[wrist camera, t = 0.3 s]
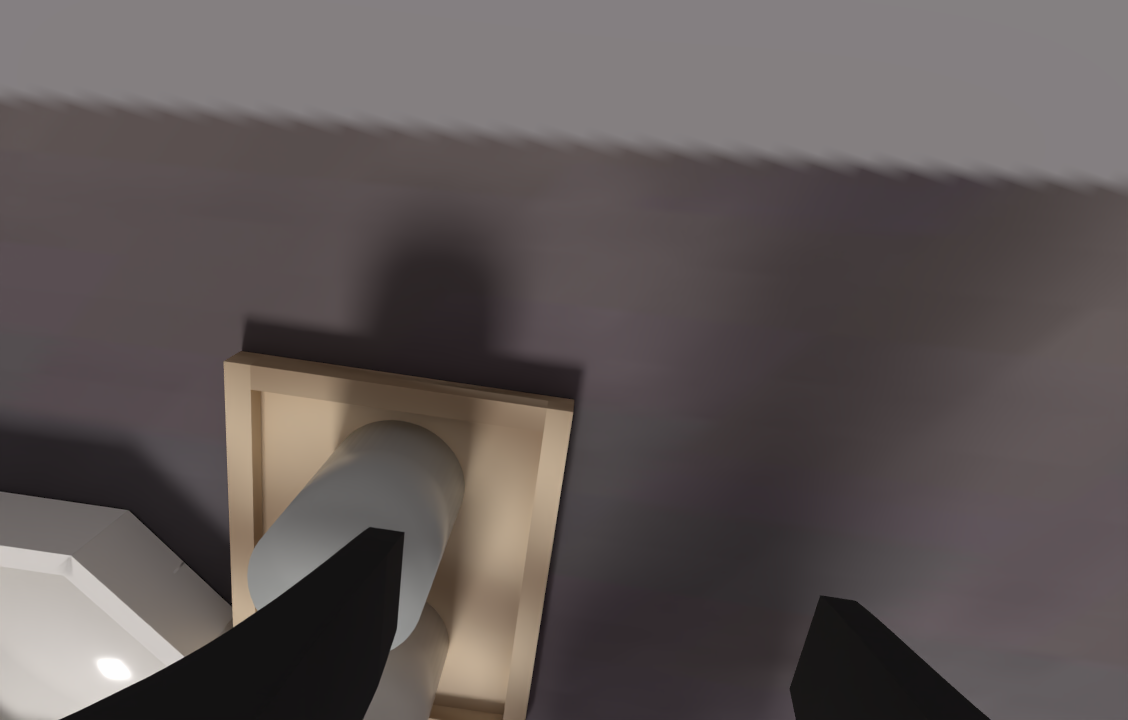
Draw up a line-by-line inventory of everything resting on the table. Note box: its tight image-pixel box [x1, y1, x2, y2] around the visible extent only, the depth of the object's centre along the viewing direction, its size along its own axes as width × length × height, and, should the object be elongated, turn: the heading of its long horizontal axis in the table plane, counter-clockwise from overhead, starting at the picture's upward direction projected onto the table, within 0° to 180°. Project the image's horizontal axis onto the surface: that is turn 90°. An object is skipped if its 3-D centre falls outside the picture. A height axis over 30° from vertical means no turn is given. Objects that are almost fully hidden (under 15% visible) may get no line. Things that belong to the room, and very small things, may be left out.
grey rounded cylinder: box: [363, 602, 449, 720], centre depth 21 cm, size 4×4×5 cm
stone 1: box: [247, 420, 465, 651], centre depth 19 cm, size 4×4×5 cm
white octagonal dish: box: [0, 492, 233, 720], centre depth 23 cm, size 13×13×3 cm
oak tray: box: [224, 351, 574, 720], centre depth 22 cm, size 14×11×1 cm
